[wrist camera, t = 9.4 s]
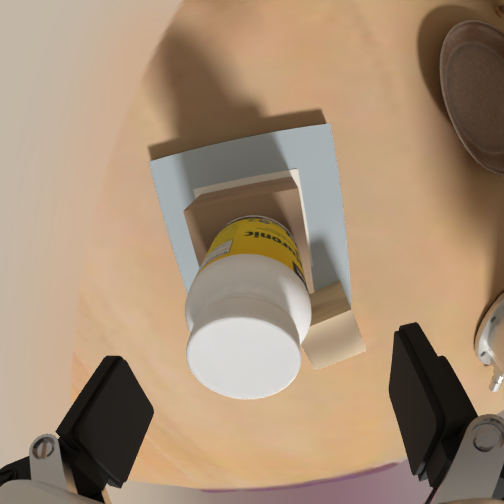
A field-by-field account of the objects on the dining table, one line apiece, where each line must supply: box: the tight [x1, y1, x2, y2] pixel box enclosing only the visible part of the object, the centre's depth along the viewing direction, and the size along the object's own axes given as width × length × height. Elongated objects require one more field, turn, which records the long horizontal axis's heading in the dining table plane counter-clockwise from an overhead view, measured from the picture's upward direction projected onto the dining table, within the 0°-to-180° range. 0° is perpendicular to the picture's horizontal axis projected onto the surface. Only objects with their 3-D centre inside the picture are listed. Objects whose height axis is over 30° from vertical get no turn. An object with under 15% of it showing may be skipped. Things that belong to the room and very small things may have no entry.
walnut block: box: [183, 176, 314, 294], centre depth 21 cm, size 7×7×5 cm
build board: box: [149, 123, 351, 306], centre depth 25 cm, size 18×14×1 cm
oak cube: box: [301, 281, 367, 370], centre depth 24 cm, size 4×4×4 cm
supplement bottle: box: [185, 215, 311, 399], centre depth 14 cm, size 5×5×10 cm
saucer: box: [439, 20, 504, 176], centre depth 17 cm, size 15×15×3 cm
